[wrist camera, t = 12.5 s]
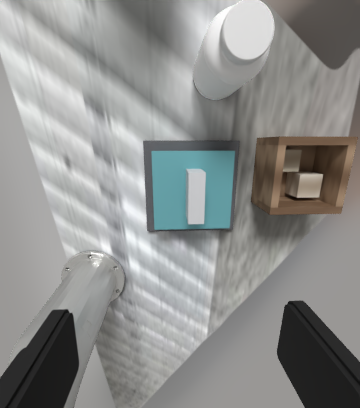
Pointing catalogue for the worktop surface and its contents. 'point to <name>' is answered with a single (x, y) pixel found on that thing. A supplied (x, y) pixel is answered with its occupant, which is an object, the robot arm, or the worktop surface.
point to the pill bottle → (233, 49)
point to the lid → (192, 189)
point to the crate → (302, 174)
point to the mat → (184, 146)
